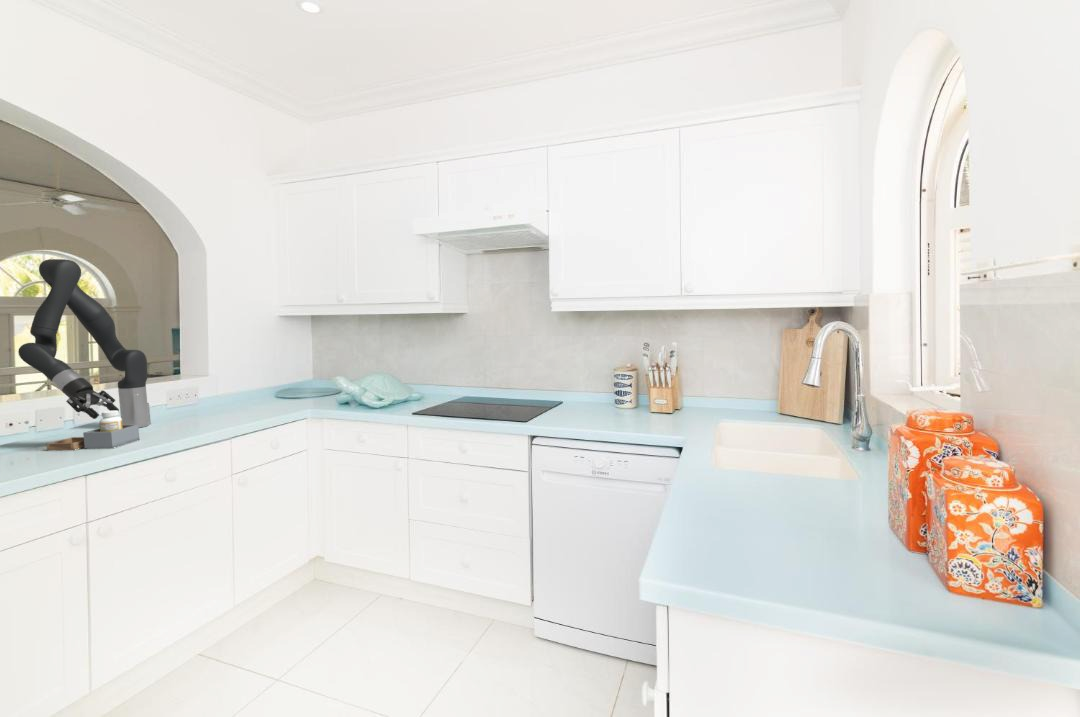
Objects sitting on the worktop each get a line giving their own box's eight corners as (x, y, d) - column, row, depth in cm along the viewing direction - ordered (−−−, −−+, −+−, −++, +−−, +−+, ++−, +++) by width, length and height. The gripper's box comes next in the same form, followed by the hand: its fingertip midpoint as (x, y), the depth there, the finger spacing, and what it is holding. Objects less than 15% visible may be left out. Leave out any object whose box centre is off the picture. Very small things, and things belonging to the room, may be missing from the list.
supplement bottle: (113, 443, 181) (110, 413, 180) (96, 443, 181) (93, 413, 180) (128, 439, 187) (125, 409, 186) (111, 439, 187) (108, 410, 186)
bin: (113, 440, 190) (112, 425, 189) (139, 440, 190) (138, 424, 189) (84, 449, 178) (83, 432, 177) (112, 448, 178) (111, 432, 177)
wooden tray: (72, 443, 186) (71, 437, 186) (98, 443, 186) (97, 436, 186) (47, 450, 176) (46, 444, 176) (74, 450, 176) (73, 443, 176)
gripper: (60, 379, 175) (96, 411, 176) (96, 374, 189) (129, 403, 190) (47, 395, 175) (83, 426, 176) (83, 388, 189) (117, 417, 190)
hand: (107, 414), depth 183 cm, fingers open, 8 cm apart
